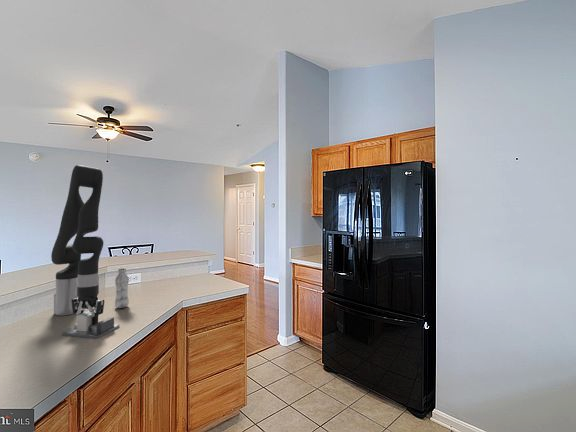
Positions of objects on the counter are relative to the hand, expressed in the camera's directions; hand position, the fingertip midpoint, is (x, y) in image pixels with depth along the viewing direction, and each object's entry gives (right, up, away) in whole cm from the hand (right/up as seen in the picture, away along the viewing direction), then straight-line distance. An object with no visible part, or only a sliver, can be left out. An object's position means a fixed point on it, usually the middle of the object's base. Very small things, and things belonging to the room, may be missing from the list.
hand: (87, 323), depth 122 cm
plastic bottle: (-2, -3, +29) cm, 29 cm away
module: (0, -2, 0) cm, 2 cm away
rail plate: (+2, -3, 0) cm, 3 cm away
